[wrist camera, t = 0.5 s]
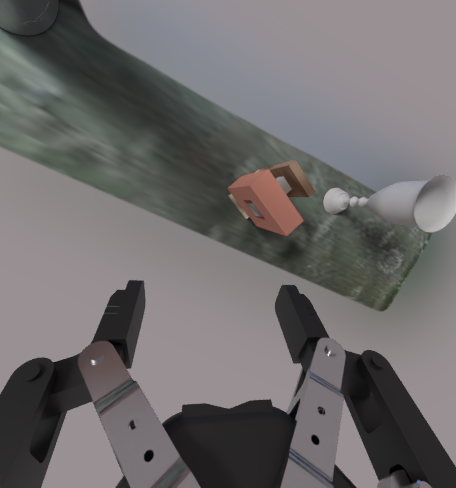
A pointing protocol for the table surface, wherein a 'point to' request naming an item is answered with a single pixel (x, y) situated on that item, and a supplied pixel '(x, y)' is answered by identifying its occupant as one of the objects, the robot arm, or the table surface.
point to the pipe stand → (283, 184)
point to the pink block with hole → (266, 202)
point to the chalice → (405, 202)
